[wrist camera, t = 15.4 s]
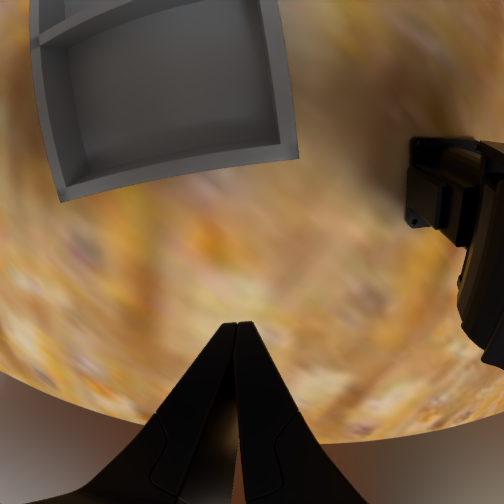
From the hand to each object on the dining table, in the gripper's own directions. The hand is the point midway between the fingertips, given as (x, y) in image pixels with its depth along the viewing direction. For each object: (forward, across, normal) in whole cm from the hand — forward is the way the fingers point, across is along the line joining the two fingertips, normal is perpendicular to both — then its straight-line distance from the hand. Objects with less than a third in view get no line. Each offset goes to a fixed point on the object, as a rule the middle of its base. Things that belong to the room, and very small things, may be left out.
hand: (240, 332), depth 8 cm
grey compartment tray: (+12, +4, -18) cm, 22 cm away
